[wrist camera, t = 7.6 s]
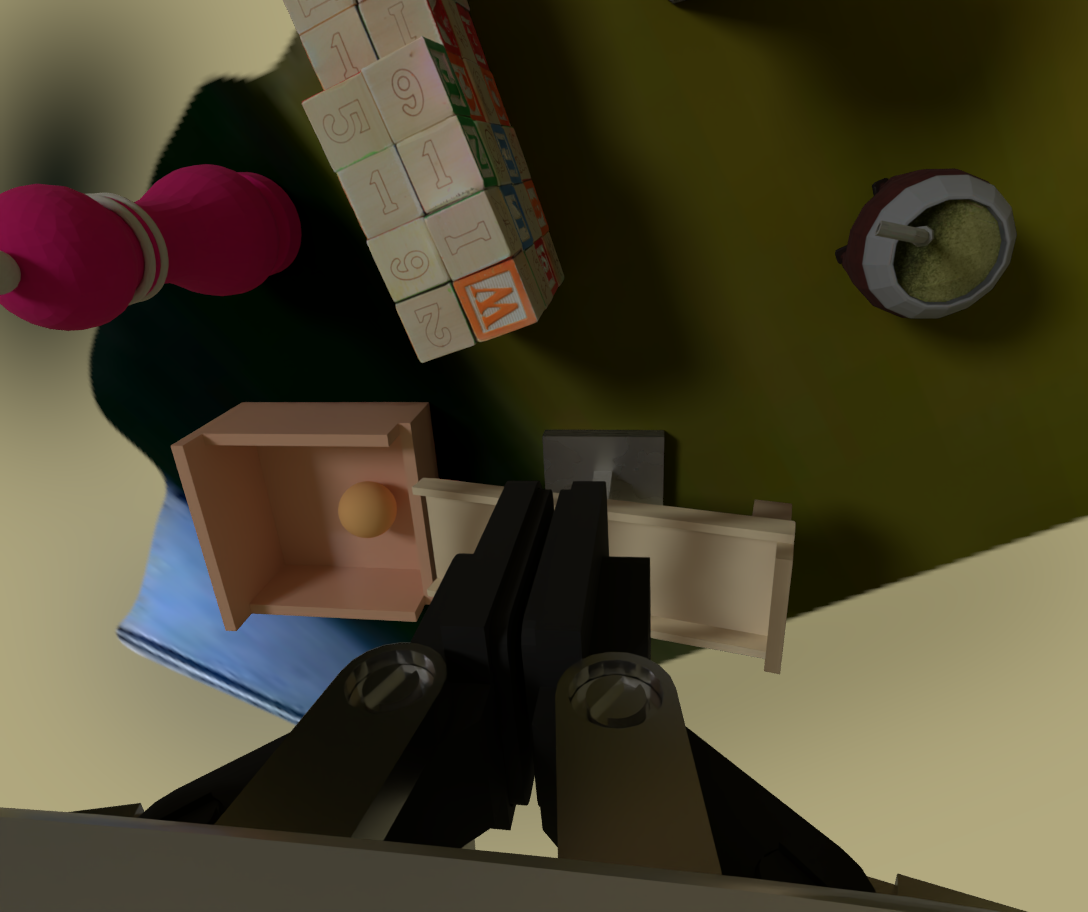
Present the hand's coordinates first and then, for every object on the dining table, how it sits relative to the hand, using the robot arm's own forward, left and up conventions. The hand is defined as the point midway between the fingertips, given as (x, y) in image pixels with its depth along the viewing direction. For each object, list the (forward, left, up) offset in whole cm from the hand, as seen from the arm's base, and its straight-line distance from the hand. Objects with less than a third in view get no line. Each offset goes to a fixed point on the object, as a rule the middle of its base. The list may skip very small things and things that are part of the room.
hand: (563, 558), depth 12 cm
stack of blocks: (+10, -9, -33) cm, 35 cm away
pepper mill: (+24, -4, -33) cm, 40 cm away
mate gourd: (-14, -2, -33) cm, 36 cm away
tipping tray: (+1, +19, -27) cm, 34 cm away
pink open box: (+21, +15, -32) cm, 41 cm away
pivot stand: (+2, +15, -32) cm, 36 cm away
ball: (+18, +15, -30) cm, 38 cm away
